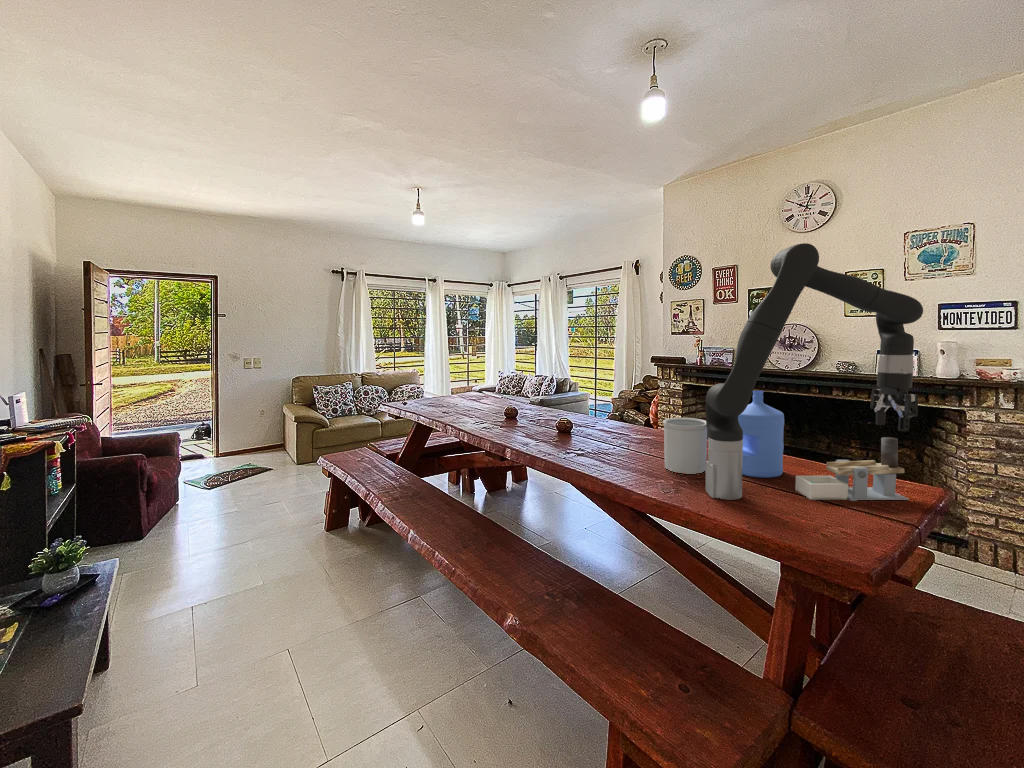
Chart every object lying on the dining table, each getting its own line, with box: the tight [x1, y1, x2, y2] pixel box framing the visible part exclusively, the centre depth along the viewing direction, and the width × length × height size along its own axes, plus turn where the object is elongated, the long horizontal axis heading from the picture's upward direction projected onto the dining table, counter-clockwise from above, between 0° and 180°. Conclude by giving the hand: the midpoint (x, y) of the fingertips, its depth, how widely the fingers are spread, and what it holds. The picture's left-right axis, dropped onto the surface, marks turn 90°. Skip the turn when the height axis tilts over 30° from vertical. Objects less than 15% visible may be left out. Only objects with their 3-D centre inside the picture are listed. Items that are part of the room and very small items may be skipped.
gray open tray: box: [795, 475, 849, 501], centre depth 128 cm, size 10×8×4 cm
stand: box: [834, 459, 910, 502], centre depth 127 cm, size 15×10×9 cm, turn 84°
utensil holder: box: [662, 417, 708, 474], centre depth 157 cm, size 15×15×18 cm
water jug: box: [738, 390, 785, 479], centre depth 151 cm, size 16×16×28 cm
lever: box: [825, 436, 905, 476], centre depth 126 cm, size 17×6×9 cm, turn 84°
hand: (891, 427), depth 125 cm, fingers open, 8 cm apart
